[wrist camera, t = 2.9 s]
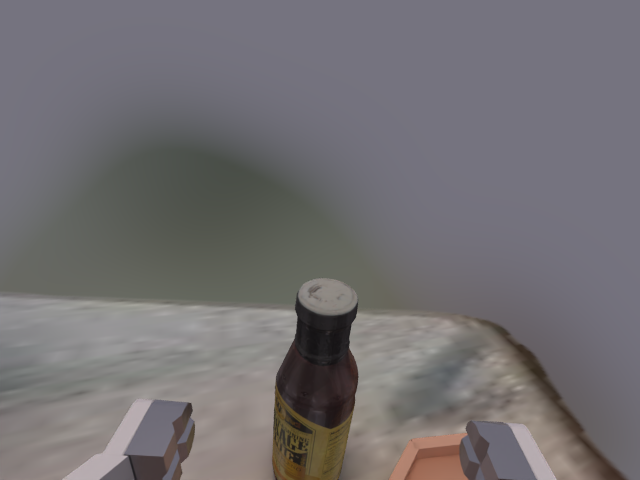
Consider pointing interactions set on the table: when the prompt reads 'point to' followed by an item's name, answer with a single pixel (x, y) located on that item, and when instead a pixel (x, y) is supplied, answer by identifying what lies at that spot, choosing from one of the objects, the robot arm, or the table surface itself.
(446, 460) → the terracotta saucer
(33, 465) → the table surface
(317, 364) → the sauce bottle
